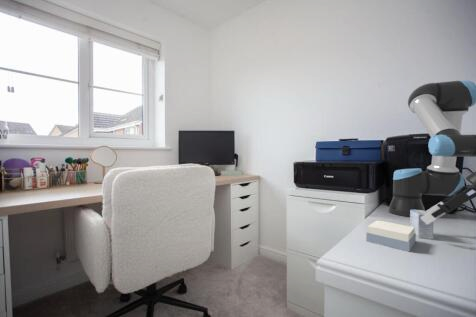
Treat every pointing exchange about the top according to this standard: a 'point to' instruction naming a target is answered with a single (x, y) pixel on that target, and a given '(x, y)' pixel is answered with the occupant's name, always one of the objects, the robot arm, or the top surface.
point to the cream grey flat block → (391, 235)
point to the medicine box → (421, 224)
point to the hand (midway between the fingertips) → (425, 217)
